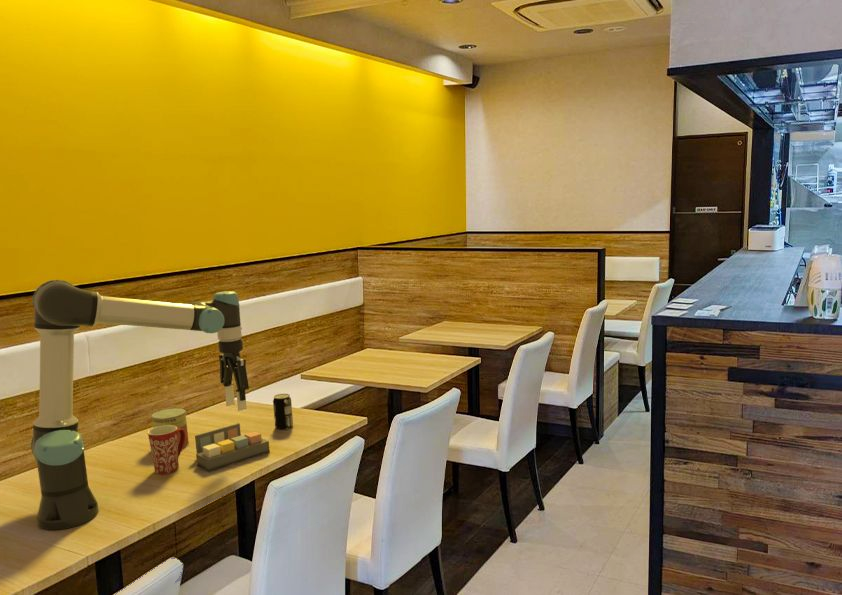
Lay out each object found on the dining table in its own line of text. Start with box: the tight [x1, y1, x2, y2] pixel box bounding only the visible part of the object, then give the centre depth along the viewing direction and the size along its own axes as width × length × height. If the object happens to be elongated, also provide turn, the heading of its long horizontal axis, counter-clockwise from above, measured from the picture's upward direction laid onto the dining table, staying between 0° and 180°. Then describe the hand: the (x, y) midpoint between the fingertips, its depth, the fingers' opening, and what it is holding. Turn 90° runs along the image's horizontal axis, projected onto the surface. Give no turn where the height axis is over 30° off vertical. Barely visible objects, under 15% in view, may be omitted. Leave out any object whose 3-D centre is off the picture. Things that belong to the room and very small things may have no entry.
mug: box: [147, 425, 185, 475], centre depth 229 cm, size 13×9×14 cm
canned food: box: [151, 407, 190, 450], centre depth 250 cm, size 11×11×12 cm
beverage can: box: [272, 393, 294, 430], centre depth 264 cm, size 7×7×12 cm
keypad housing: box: [195, 437, 270, 473], centre depth 235 cm, size 22×8×4 cm, turn 133°
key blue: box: [231, 435, 248, 449], centre depth 236 cm, size 4×4×4 cm
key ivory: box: [203, 444, 221, 458], centre depth 229 cm, size 4×4×4 cm
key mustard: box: [217, 439, 235, 453], centre depth 232 cm, size 4×4×4 cm
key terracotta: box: [243, 430, 263, 445], centre depth 239 cm, size 4×4×4 cm
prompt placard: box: [194, 422, 241, 454], centre depth 242 cm, size 16×1×8 cm, turn 133°
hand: (236, 407), depth 234 cm, fingers open, 7 cm apart
